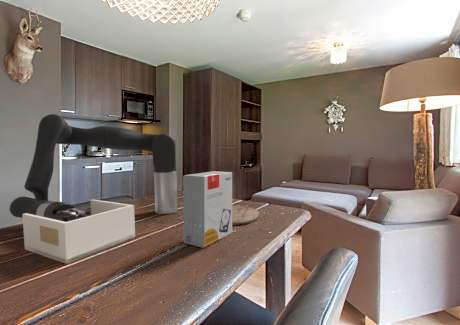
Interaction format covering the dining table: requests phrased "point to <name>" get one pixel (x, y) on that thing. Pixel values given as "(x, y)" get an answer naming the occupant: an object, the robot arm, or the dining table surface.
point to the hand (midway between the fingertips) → (89, 219)
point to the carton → (79, 232)
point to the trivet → (243, 215)
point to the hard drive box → (207, 207)
